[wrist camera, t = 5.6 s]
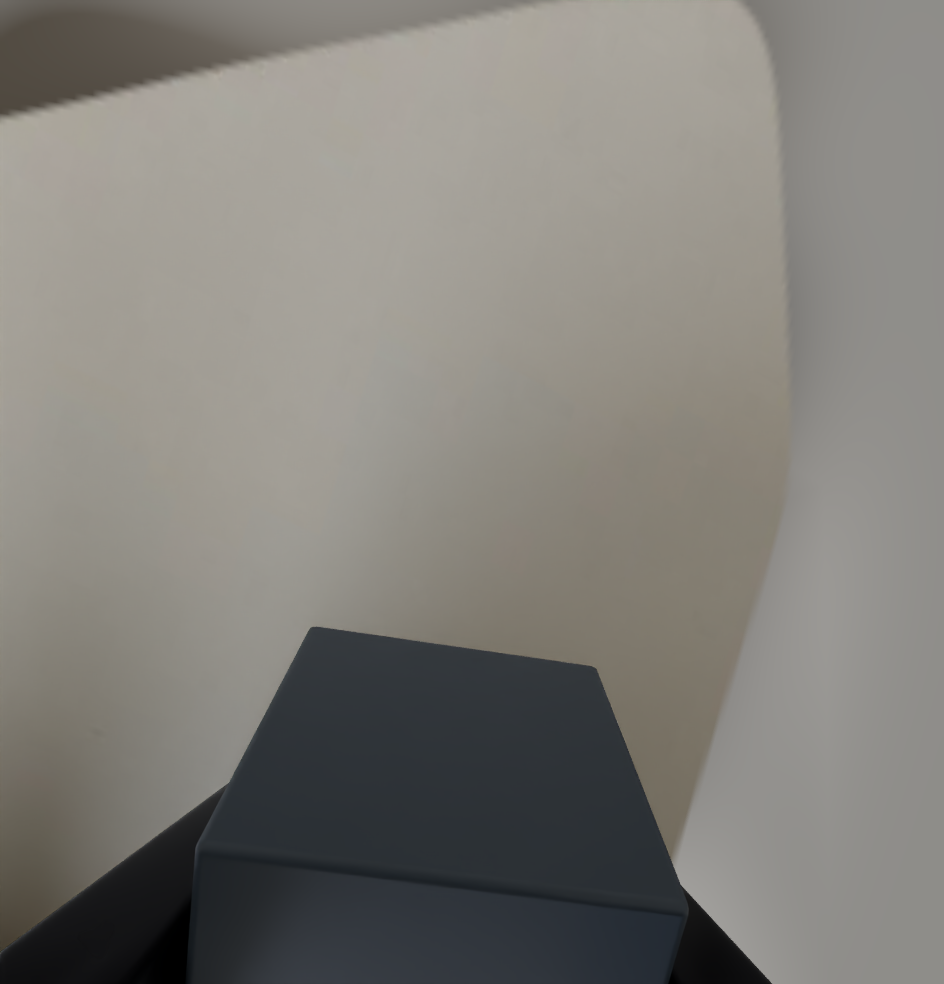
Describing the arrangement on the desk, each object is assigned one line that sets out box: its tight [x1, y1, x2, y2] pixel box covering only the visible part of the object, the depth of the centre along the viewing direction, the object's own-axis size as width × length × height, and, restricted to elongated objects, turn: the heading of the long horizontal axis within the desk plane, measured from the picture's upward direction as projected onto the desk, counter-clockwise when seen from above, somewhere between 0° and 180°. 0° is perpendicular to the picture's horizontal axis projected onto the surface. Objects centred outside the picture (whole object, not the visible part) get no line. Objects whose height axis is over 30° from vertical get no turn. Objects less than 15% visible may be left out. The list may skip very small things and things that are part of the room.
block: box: [185, 627, 689, 984], centre depth 8 cm, size 4×4×4 cm
